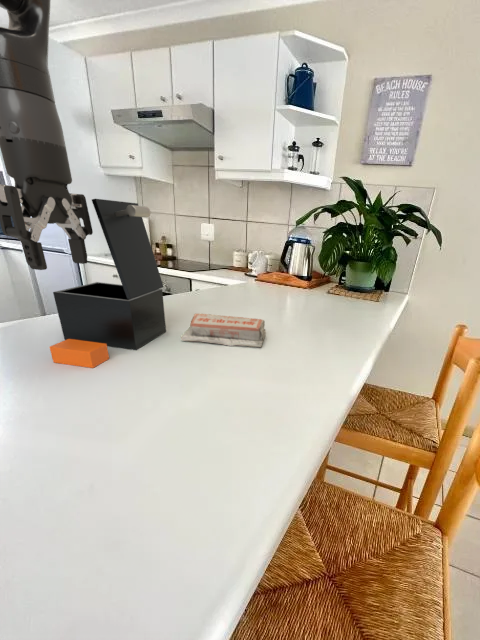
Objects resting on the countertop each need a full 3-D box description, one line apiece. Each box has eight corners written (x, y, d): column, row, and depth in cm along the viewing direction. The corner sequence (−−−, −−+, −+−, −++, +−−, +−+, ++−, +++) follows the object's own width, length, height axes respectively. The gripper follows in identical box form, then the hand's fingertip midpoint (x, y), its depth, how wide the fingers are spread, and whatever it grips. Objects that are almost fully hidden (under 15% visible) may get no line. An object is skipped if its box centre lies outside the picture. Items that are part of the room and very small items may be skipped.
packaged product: (267, 315, 78) (262, 327, 69) (266, 334, 80) (261, 349, 71) (192, 309, 77) (178, 320, 69) (193, 328, 80) (180, 341, 71)
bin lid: (91, 199, 53) (117, 193, 52) (134, 204, 64) (156, 199, 63) (127, 299, 60) (151, 295, 59) (160, 287, 71) (181, 284, 70)
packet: (53, 362, 57) (49, 346, 55) (72, 353, 61) (68, 338, 59) (93, 368, 56) (89, 352, 55) (109, 358, 60) (106, 343, 59)
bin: (64, 340, 66) (52, 292, 62) (104, 324, 77) (96, 281, 73) (136, 350, 65) (129, 301, 60) (166, 331, 76) (162, 289, 71)
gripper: (49, 149, 50) (72, 259, 58) (-49, 123, 38) (-3, 269, 45) (93, 152, 50) (111, 263, 57) (9, 127, 37) (46, 274, 44)
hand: (61, 266), depth 51 cm, fingers open, 8 cm apart
